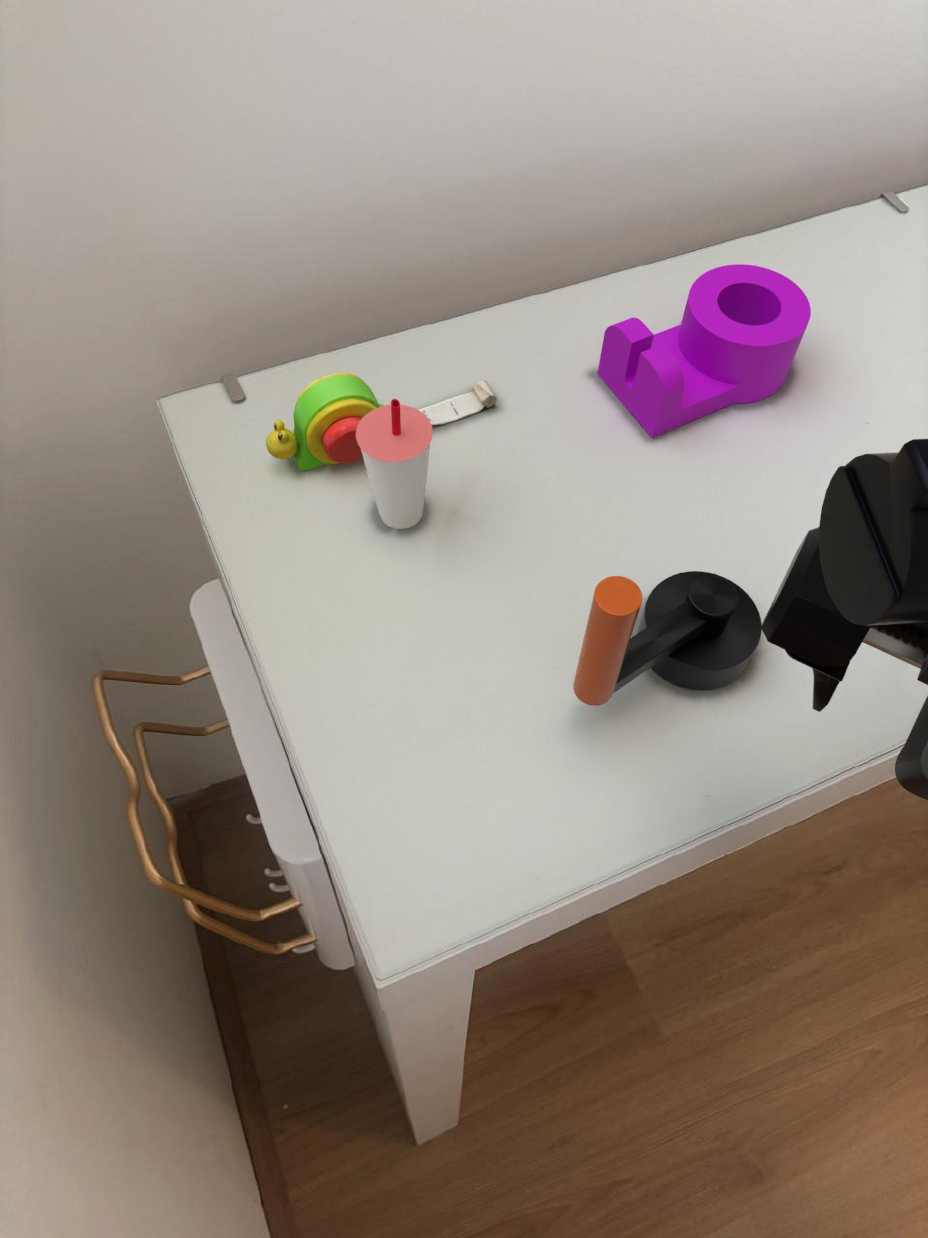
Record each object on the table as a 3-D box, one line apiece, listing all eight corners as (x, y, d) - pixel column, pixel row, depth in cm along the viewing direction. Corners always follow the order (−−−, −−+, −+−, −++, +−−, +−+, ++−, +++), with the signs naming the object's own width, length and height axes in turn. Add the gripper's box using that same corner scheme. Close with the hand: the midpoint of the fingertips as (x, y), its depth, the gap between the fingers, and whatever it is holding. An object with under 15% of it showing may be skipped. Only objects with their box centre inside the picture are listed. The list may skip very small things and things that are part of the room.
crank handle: (704, 589, 64) (750, 480, 54) (737, 621, 63) (790, 515, 53) (560, 685, 60) (581, 586, 50) (592, 721, 59) (619, 627, 49)
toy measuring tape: (260, 441, 75) (244, 381, 70) (477, 374, 79) (478, 313, 74) (284, 497, 72) (269, 439, 67) (508, 424, 76) (511, 364, 71)
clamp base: (754, 606, 67) (766, 583, 64) (744, 701, 63) (757, 681, 60) (646, 584, 68) (653, 560, 66) (629, 676, 64) (636, 655, 61)
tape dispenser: (741, 310, 84) (760, 251, 78) (810, 378, 79) (836, 321, 74) (592, 368, 80) (602, 309, 74) (656, 443, 75) (671, 387, 70)
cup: (446, 526, 71) (444, 415, 61) (381, 548, 70) (367, 439, 59) (420, 477, 73) (413, 362, 63) (357, 497, 72) (340, 385, 62)
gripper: (778, 621, 32) (675, 785, 46) (1359, 893, 28) (1058, 986, 41) (870, 422, 37) (754, 621, 51) (1372, 625, 33) (1101, 784, 46)
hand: (904, 745), depth 47 cm, fingers open, 9 cm apart
